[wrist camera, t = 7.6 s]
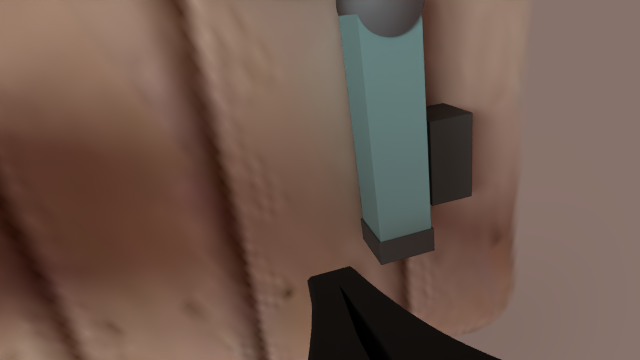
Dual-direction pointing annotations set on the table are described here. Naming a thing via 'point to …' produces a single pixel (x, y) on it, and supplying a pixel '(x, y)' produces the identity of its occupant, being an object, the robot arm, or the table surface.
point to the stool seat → (449, 153)
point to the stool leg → (389, 123)
